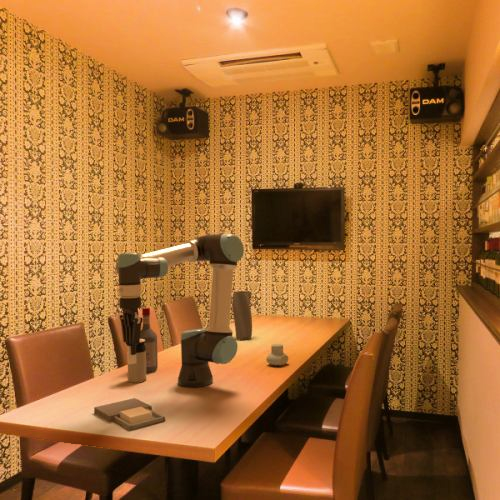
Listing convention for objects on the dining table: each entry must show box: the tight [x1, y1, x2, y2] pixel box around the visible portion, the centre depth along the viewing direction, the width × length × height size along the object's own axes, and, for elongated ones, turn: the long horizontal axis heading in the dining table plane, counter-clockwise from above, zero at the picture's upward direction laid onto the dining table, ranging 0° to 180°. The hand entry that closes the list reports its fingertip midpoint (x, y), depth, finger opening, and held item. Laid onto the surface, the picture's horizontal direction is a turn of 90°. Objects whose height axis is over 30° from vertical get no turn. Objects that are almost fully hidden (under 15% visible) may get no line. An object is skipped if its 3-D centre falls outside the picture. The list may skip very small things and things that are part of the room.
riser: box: [93, 397, 153, 423], centre depth 181 cm, size 16×13×2 cm
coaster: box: [120, 407, 152, 425], centre depth 172 cm, size 8×8×2 cm
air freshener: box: [266, 343, 289, 367], centre depth 248 cm, size 11×8×10 cm
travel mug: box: [127, 339, 147, 383], centre depth 223 cm, size 8×8×18 cm
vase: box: [231, 290, 253, 341], centre depth 318 cm, size 12×12×30 cm
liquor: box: [140, 307, 159, 374], centre depth 241 cm, size 9×9×30 cm
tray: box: [113, 409, 166, 432], centre depth 171 cm, size 13×12×2 cm
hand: (132, 363), depth 177 cm, fingers closed
